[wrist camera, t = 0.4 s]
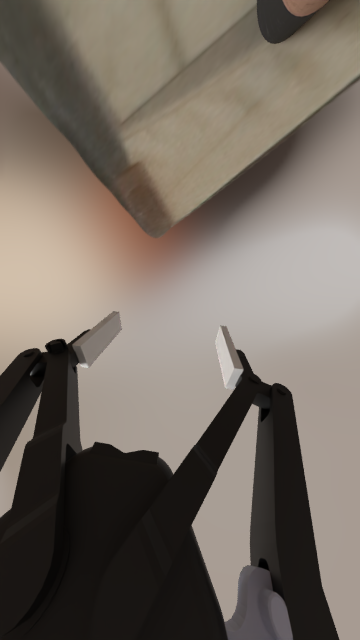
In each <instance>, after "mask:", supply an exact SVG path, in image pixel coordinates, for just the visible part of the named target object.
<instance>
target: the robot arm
mask: <svg viewBox="0 0 360 640" xmlns="http://www.w3.org/2000/svg"><path fill="white" fill-rule="evenodd" d="M121 330H122V328H121V321H120V314H119V312H115V311H113V312H112V313H111V314H109V315H108V316H107V317H106V318H104V319H103V320H102V321H101V322H100V323H98V324H97V325H96V326H95V327H93V328H92V329H91V330H90V329H89V330H87V331H84V332H83V333H82V334H80V335H79V336H77V338H75V339H74V340H72V341H71V342H70V343H68V344H66V342H65V340H64V339H56V340H52V341H50V342H49V343H47V344H46V345H45V347H46V349H47V351H48V352H41V351H40V350H39V349H37V348H33V349H28V350H26V351H24V352H22V353H20V354H19V355H18V356H17V357H16V358H15V359H14V361H13V362H12V363H11V364H10V365H9V366H8V367H7V369H6V370H5V371H4V372H3V373H2V374H1V375H0V471H1V469H2V467H3V465H4V463H5V461H6V459H7V457H8V456H9V454H10V452H11V450H12V448H13V446H14V444H15V441H16V440H17V438H18V436H19V434H20V432H21V430H22V428H23V426H24V425H25V423H26V421H27V419H28V417H29V415H30V413H31V411H32V409H33V407H34V405H35V403H36V401H37V399H38V397H39V395H40V393H41V392H42V393H41V399H40V404H39V410H38V414H37V420H36V425H35V430H34V436H33V439H32V440H31V441H29V442H28V443H27V444H26V446H25V449H24V453H23V458H22V462H21V467H20V472H19V476H18V481H17V486H16V490H15V495H14V499H13V504H12V508H11V509H10V510H9V511H8V512H6V513H5V514H4V515H3V516H2V517H1V518H0V640H339V637H338V634H337V631H336V628H335V625H334V622H333V619H332V616H331V613H330V609H329V606H328V603H327V600H326V597H325V595H324V591H323V588H322V583H321V578H320V571H319V564H318V558H317V551H316V545H315V539H314V532H313V526H312V519H311V513H310V507H309V500H308V494H307V488H306V481H305V475H304V468H303V462H302V456H301V449H300V443H299V436H298V430H297V424H296V417H295V411H294V405H293V399H292V394H291V392H290V391H289V390H288V389H287V388H286V387H285V386H283V385H281V384H279V383H275V384H273V385H272V386H271V385H268V384H266V383H263V382H262V381H261V379H260V378H259V377H258V376H257V375H255V374H254V373H253V371H252V369H251V367H250V365H249V363H248V361H247V359H246V356H245V354H244V353H243V352H242V351H241V350H236V349H235V347H234V344H233V342H232V339H231V337H230V334H229V332H228V329H227V327H226V326H220V328H219V332H218V335H217V338H216V342H215V344H216V348H217V353H218V358H219V362H220V366H221V371H222V376H223V381H224V385H225V388H227V389H234V387H235V386H236V388H235V390H234V391H233V393H232V394H231V395H230V397H229V398H228V400H227V401H226V402H225V404H224V405H223V407H222V408H221V410H220V411H219V413H218V414H217V415H216V417H215V418H214V420H213V421H212V422H211V424H210V425H209V427H208V428H207V430H206V431H205V432H204V434H203V435H202V437H201V438H200V440H199V441H198V442H197V444H196V445H194V447H193V448H192V449H191V451H190V452H189V453H188V455H187V456H186V458H185V459H184V460H183V462H182V463H181V465H180V466H179V468H178V469H177V470H176V472H175V473H174V475H173V473H172V471H171V469H170V467H169V466H168V465H167V464H166V462H165V461H163V460H162V459H161V458H159V457H158V456H159V453H158V452H152V451H146V450H140V451H135V452H129V453H123V452H121V451H120V450H118V449H117V448H115V447H113V446H112V445H110V444H105V443H99V442H95V443H94V445H93V447H90V448H87V449H85V450H83V451H82V446H81V442H80V427H79V402H78V379H77V367H76V365H77V364H78V363H80V366H81V367H87V368H89V367H90V366H91V365H92V363H93V362H94V361H95V360H96V359H97V358H98V356H99V355H100V354H101V353H102V352H103V351H104V349H105V348H106V347H107V346H108V345H109V344H110V343H111V341H112V340H113V339H114V338H115V337H116V336H117V335H118V333H119V332H120V331H121ZM252 404H254V405H256V406H258V407H259V416H258V431H257V443H256V457H255V471H254V484H253V498H252V512H251V526H250V557H251V566H249V565H247V566H245V567H244V568H243V569H242V571H241V573H240V577H239V582H238V600H237V601H238V602H237V606H236V610H235V613H234V614H233V616H232V618H231V619H230V620H228V621H227V622H224V619H223V615H222V612H221V608H220V605H219V602H218V599H217V597H216V594H215V591H214V588H213V585H212V582H211V579H210V577H209V574H208V571H207V568H206V565H205V563H204V559H203V557H202V554H201V551H200V548H199V546H198V542H197V540H196V537H195V534H194V531H193V529H192V526H191V525H192V523H193V521H194V519H195V517H196V515H197V513H198V511H199V509H200V507H201V505H202V503H203V501H204V499H205V497H206V495H207V493H208V491H209V489H210V487H211V485H212V483H213V481H214V479H215V477H216V475H217V471H218V469H219V467H220V465H221V463H222V461H223V459H224V457H225V455H226V453H227V451H228V449H229V447H230V445H231V443H232V442H233V439H234V438H235V436H236V434H237V432H238V430H239V428H240V426H241V424H242V422H243V420H244V418H245V416H246V414H247V412H248V410H249V408H250V406H251V405H252Z"/></svg>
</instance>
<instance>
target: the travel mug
mask: <svg viewBox="0 0 360 640" xmlns="http://www.w3.org/2000/svg"><path fill="white" fill-rule="evenodd" d="M328 1H329V0H257V15H258V23H259V27H260V31H261V33H262V35H263V37H264V38H265V39H266V40H267V41H268V42H270V43H274V44H275V43H280V42H282V41H284V40H285V39H287V38H288V37H290V36H291V35H292V34H293V33H294V32H295V31H296V30H298V29H299V28H300V27H301V26H302V25H303V24H304V23H305V22H306V21H307V20H309V19H310V18H311V17H312V16H313V15H314V14H315V13H316V12H317V11H318V10H319V9H321V8H322V7H323V6H324V5H325V4H326V3H327V2H328Z"/></svg>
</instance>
